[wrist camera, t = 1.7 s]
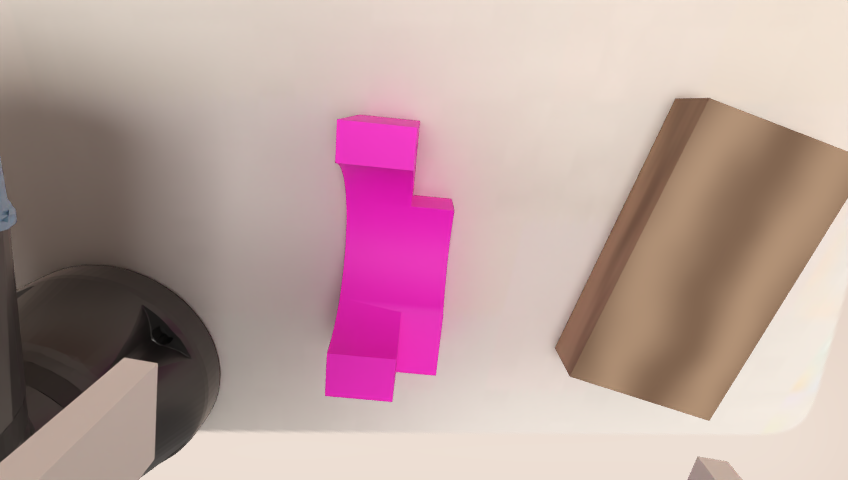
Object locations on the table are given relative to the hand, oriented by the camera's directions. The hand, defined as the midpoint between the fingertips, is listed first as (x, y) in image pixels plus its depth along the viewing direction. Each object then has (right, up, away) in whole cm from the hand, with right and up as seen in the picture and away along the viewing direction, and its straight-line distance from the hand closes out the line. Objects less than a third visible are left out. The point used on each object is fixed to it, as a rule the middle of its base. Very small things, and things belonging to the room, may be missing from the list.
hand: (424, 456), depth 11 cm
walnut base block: (+17, +4, +20) cm, 27 cm away
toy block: (-2, +6, +20) cm, 21 cm away
